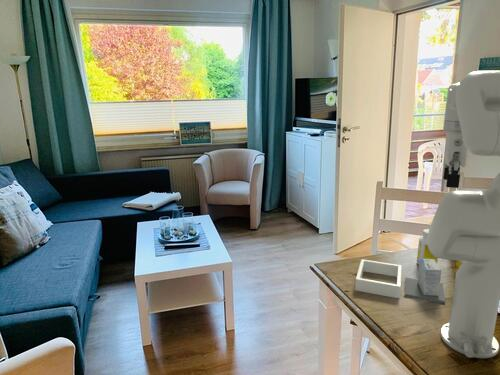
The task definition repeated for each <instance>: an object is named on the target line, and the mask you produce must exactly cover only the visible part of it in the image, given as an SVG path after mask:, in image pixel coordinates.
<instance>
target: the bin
mask: <svg viewBox="0 0 500 375" xmlns="http://www.w3.org/2000/svg"><path fill="white" fill-rule="evenodd" d="M364 272H366V273H371V274H372V273H373V274H379V275H384V276H390V277H396V284H395V283H389V282H386V281H384V282H383V281H379V280H372V279H367V278H363V275H364ZM401 282H402V265H401V264H395V263H391V262H389V263H388V262H381V261H375V260H368V259H361V260H360V263H359V267H358V270H357V273H356V277H355V288H354V291H355V292H356V291H357V292H363V293H367V294H373V295H378V296H383V297H390V298H395V299H400V296H401Z"/></svg>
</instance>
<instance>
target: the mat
mask: <svg viewBox="0 0 500 375" xmlns="http://www.w3.org/2000/svg"><path fill="white" fill-rule="evenodd" d="M404 280H405V281H404V297H407V298H413V299H417V300H423V301H429V302H434V303H440V304H446V297H445V292H444V286H443V285H444V284H443V283H441V282H440V288H439V296H431V295H424V294H423V292H422V290H421V288H420V286H419V284H418V278H417V279H416V278H411V277H410V278H409V277H405V279H404Z"/></svg>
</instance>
